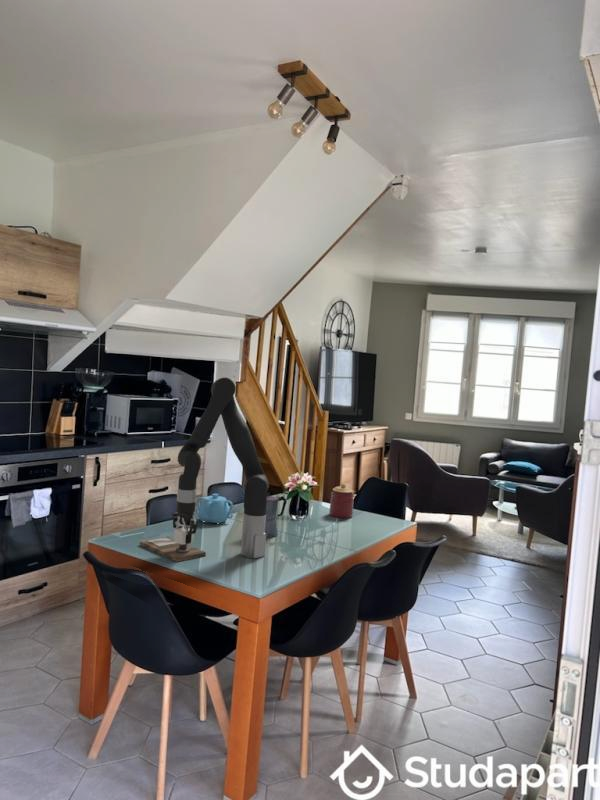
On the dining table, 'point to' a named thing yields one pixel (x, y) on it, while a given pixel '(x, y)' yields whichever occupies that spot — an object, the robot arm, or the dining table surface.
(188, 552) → the post board
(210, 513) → the decorative pot
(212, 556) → the dining table surface
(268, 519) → the moka pot
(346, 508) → the canister
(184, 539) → the white cube
